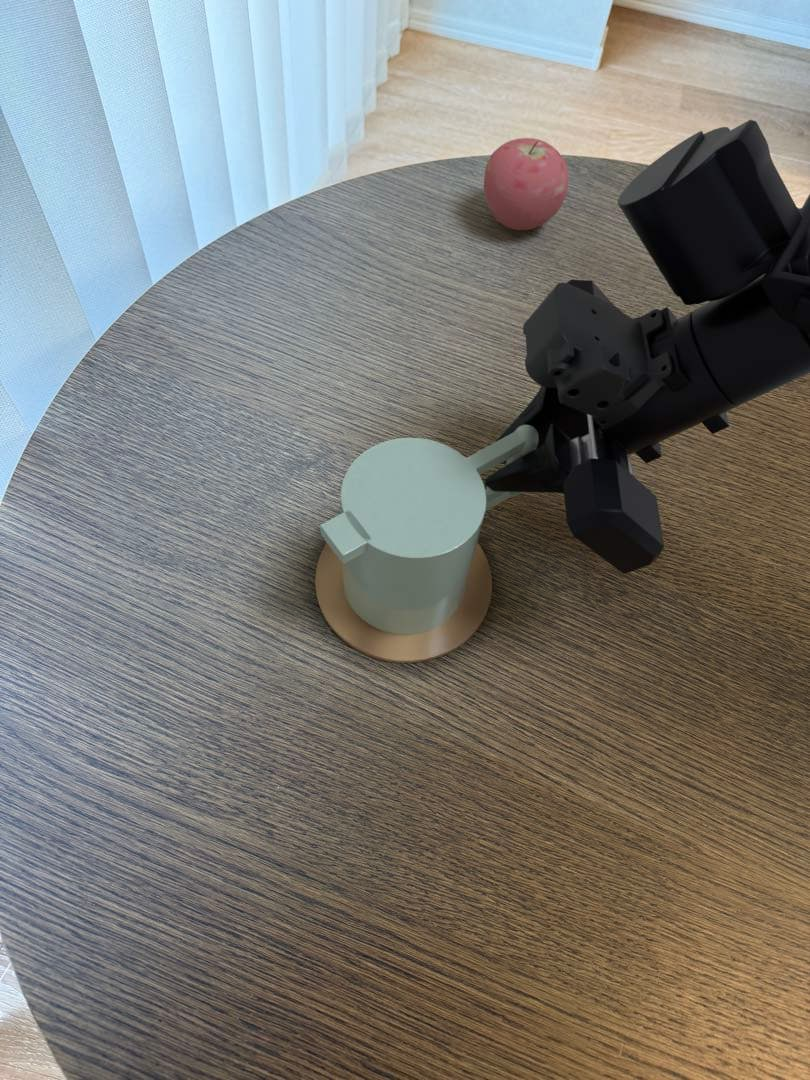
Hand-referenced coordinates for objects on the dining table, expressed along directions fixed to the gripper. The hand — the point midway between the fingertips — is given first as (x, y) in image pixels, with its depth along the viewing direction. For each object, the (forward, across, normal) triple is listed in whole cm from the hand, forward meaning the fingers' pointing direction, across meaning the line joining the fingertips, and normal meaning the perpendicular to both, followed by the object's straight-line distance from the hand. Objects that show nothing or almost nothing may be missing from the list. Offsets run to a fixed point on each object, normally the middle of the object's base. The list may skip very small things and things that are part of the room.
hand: (488, 472), depth 54 cm
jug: (+7, +4, +1) cm, 8 cm away
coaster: (+8, +5, +1) cm, 9 cm away
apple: (+1, -34, +7) cm, 35 cm away
